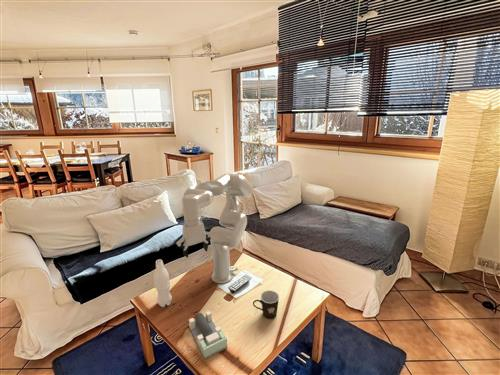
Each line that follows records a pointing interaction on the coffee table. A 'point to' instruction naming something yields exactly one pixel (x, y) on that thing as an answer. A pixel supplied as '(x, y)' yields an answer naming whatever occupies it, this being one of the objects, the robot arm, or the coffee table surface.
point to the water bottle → (162, 284)
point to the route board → (201, 340)
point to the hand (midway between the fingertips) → (196, 253)
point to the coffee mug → (269, 304)
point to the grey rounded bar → (206, 329)
